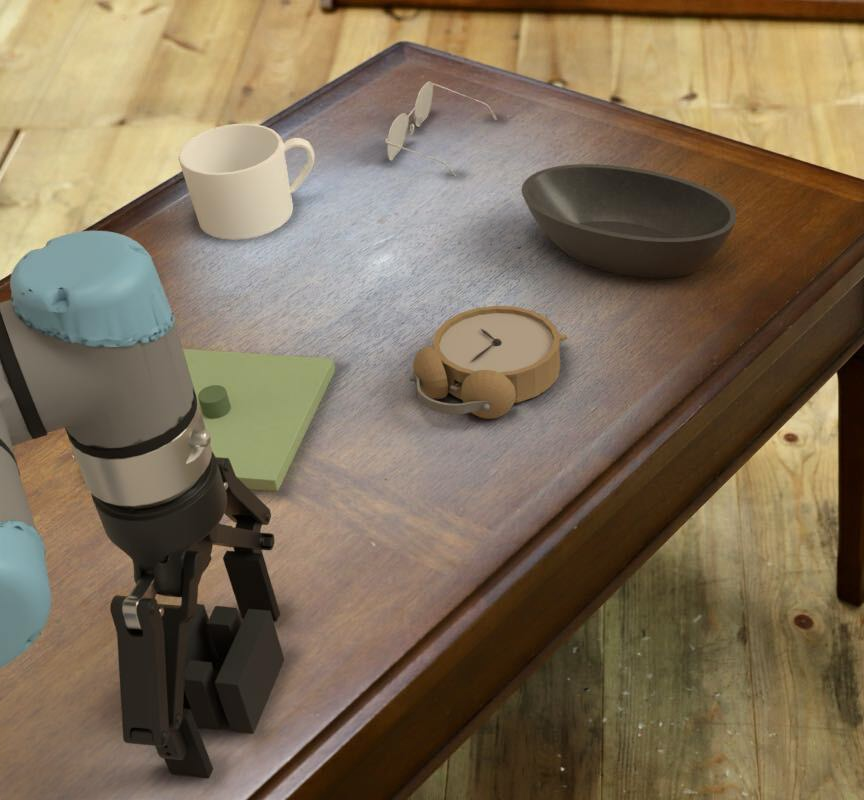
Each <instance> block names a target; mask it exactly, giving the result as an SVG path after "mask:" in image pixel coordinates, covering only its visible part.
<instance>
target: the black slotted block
mask: <svg viewBox="0 0 864 800" xmlns="http://www.w3.org/2000/svg"><path fill="white" fill-rule="evenodd" d="M238 610H239V609H238V608H237V607H234V606H233V607H232V606H223V605H214V608H213V610H212V612H211V614H210V616H209V615H208V612H207V609H206V607H205V604H202V603H197V612H196V615H195V616H194V617H193V618H191V619H190V620H189V622H188V636H187V652H186V668H185V684H184V699H183V709H191V712H192V714H193V717H194V720H195V722H196V725H197V727H198V729H204V730H205V729H206V730H215V731H220V730H221V728H222V725H223V723H224V721H225V720H226V721H227V724H228V725H229V729H230V732H233V733H234V732H235V733H243V734H255V732H256V729H257V727H258V724H259V723H260V719H261V718H262V715H263V713H264V710H265V708H266V705H267V703H268V700H269V698H270V696H271V693H272V691H273V688H274V686H275V683H276V681H277V679H278V676H279V673H280V671H281V668H282V666H283V664H284V662H285V657H284V653H283V651H282V647H281V643H280V640H279V636H278V633H277V629H276V624H275V621H273V618H272V615H271V611H266V610H256V609H248V610H247V613H246V615H245V617H244V618H242V619H243V620H241V618H240V617H241V616H240V614H239V611H238ZM218 660H219V661H218ZM217 662H219V664H220V670H219V672H218V673H217V675H216V672H215V669H214V667H215V665H216V663H217Z"/></svg>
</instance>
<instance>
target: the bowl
mask: <svg viewBox="0 0 864 800" xmlns="http://www.w3.org/2000/svg"><path fill="white" fill-rule="evenodd" d="M521 194H522V197H523V199H524V202H525V204H526V206H527V208H528V210H529V211H530V214H531V215H532V217H533V218H534V220H535V221H536V223H537V224H538V226H539V227H540V228H541V230H542V231H543V232H544V233H545V234H546V236H547V237H548V238H549V239H550V240H551V242H553V243H554V244H555V245H556V246H557V247H558V248H560V249H561V250H562V251H563V252H564V253H565V254H567V256H568V257H570V258H572V259H574V260H576V261H578V262H579V263H581V264H584V265H586V266H589V267H592V268H594V269H598V270H601V271H604V272H608V273H613V274H616V275H622V276H627V277H633V278H643V279H674V278H680V277H685V276H688V275H691V274H692V273H694V272H695V271H697V270H699V269H700V268H702V267H703V266H705V265H706V264H707V263H708V262H710V261H711V260H712V259H713V258H714V257H715V256H716V255H717V254H718V253H719V251H720V250H721V249H722V247H723V246H724V245H725V244H726V242H727V240H728V238H729V237H730V235H731V233H732V231H733V228H734V227H735V224H736V222H737V219H738V213H737V210H736V208H735V207H734V205H733V204H732V203H731V202H730V201H729V200H728V199H727V198H725V197H724V196H722V195H721V194H719V193H718V192H716V191H714V190H712V189H710V188H708V187H706V186H703V185H701V184H698V183H696V182H693V181H691V180H688V179H684V178H680V177H678V176H673V175H670V174H665V173H662V172H657V171H653V170H647V169H643V168H636V167H629V166H624V165H623V166H622V165H614V164H613V165H612V164H599V163H598V164H597V163H577V164H576V163H575V164H565V165H557V166H553V167H548V168H545V169H541V170H539V171H536V172H535V173H533V174H531V175H530V176H528V177H527V178H526V179H525V181H523V183H522V185H521Z"/></svg>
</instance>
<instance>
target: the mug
mask: <svg viewBox="0 0 864 800" xmlns="http://www.w3.org/2000/svg"><path fill="white" fill-rule="evenodd" d="M293 148H302V149H304V151H305V153H306V158H307V159H306V163H305V165H304V166H303V168H302V169H301V170H300V172H298V174H297V176H296V177H295V178H294V179H293V181H292V182H291V183H290V178H289V173H288V166H287V158H286V152H287V151H289V150H291V149H293ZM315 158H316V156H315V151H314V148H313V146H312V144H311V143H310V142H309V141H308V140H307V139H305V138H302V137H292V138H290V139H287V140H285V142H284V141H283V139H282V136H281V135H280V134H279V133H277V131H275V130H274V129H272V128H270V127H268V126H266V125H261V124H256V123H232V124H225V125H220V126H215V127H213V128H210V129H207V130H203V131H202V132H200V133H198V134H196V135H194V136H193V137H191V138H189V140H187V141H186V142H185V143H184V144H183V145H182V147H181V148H180V151H179V153H178V161H179V165H180V168H181V172H182V175H183V178H184V180H185V181H184V182H185V184H186V187H187V191H188V193H189V197H190V200H191V202H192V203H191V204H192V206H193V209H194V212H195V215H196V218H197V221H198V225H199V228H200V229H201V230H202V231H203V232H204V233H205V234H207V235H208V236H211V237H212V238H216V239H221V240H230V241H238V240H248V239H254V238H257V237H261V236H264V235H266V234H269V233H272V232H273V231H275V230H277V229H279V228H280V227H282V226H283V225H284V224H285V223H287V222H288V221H289V219H290V218H291V216H292V214H293V212H294V211H293V210H294V203H293V199H292V198H293V197H292V194H293V193H295V192H297V190H298V189H299V188H300V187H301V185H302V183H303V182H304V181H305V180H306V178H307V177H308V176H309V174H310V173H311V171H312V170H313V168H314V165H315V160H316V159H315Z"/></svg>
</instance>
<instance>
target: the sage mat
mask: <svg viewBox="0 0 864 800" xmlns="http://www.w3.org/2000/svg"><path fill="white" fill-rule="evenodd" d="M183 351H184V355H185V358H186V362H187V365H188V369H189V372H190V376H191V379H192V383H193V386H194V390H195V393H196V397H197V403H198V406H199V409H200V412H201V415H202V418H203V422H204V425H205V428H206V431H207V432H208V433H210V437H211V442H210V443H211V448H212V452H213V453H214V455H215V457H221V458H229V460H230V462H231V465H232V467H233V470H234V473H235V475H236V477H237V478H238V479H239V480H240V481H241V482H242V483H243V484H244V485H245V486H246V487H247V488H248V489H249V490H256V491H257V490H258V491H266V492H267V491H268V492H278V491H279V490H280V488H281V485H282V484H283V482H284V479H285V477H286V475H287V473H288V471H289V469H290V467H291V465H292V462H293V461H294V458H295V456H296V453H297V452H298V450H299V448H300V446H301V443H302V441H303V439H304V437H305V435H306V432H307V431H308V429H309V427H310V424H311V423H312V421H313V418H314V416H315V414H316V412H317V410H318V408H319V405H320V403H321V401H322V400H323V397H324V395H325V393H326V391H327V389H328V386H329V384H330V382H331V380H332V378H333V376H334V373H336V366H335V360H334V358H327V357H312V356H311V357H310V356H297V355H284V354H283V355H281V354H266V353H254V352H253V353H252V352H240V351H239V352H236V351H223V350H208V349H207V350H206V349H192V348H183Z"/></svg>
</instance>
